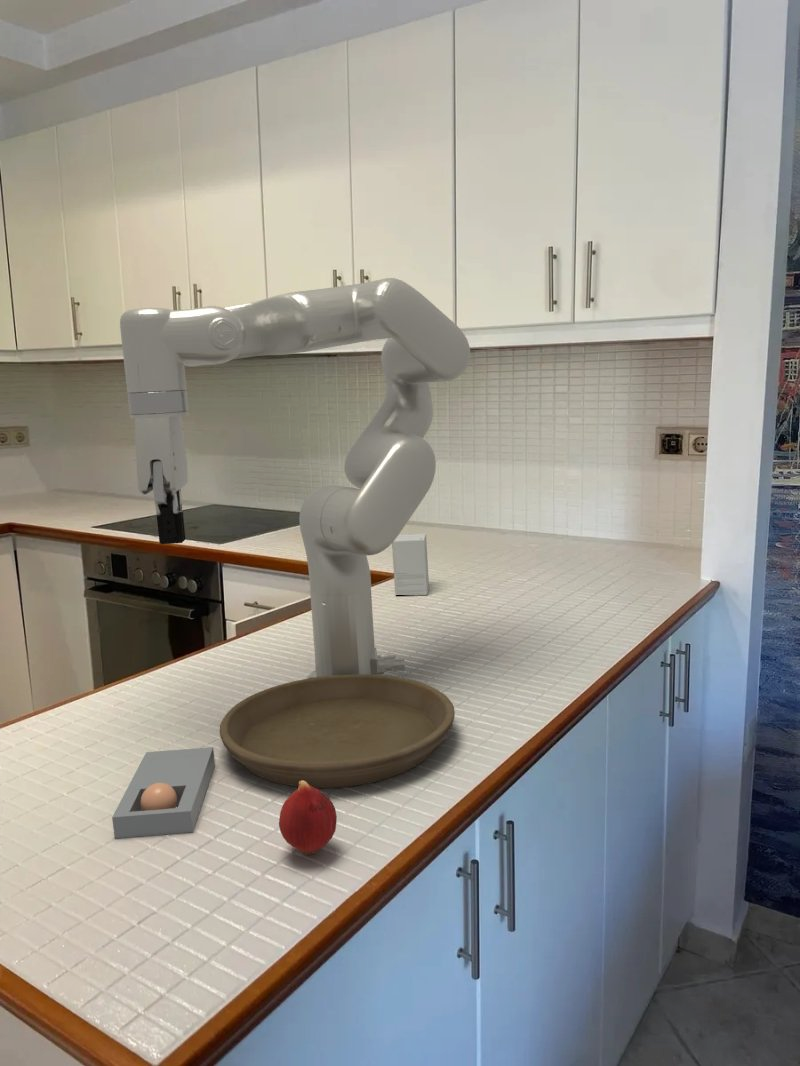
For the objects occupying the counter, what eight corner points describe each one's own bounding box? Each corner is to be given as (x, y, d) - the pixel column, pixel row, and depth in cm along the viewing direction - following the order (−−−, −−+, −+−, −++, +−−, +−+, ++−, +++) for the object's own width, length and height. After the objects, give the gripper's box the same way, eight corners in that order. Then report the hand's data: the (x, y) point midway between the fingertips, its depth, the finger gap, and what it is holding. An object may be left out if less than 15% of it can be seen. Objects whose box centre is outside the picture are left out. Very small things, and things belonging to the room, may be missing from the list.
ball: (175, 775, 94) (171, 810, 91) (181, 790, 97) (178, 824, 94) (139, 778, 94) (134, 812, 91) (146, 792, 97) (142, 826, 94)
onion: (339, 836, 89) (334, 766, 87) (337, 867, 83) (332, 793, 81) (285, 839, 88) (279, 769, 87) (279, 871, 83) (272, 796, 81)
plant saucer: (336, 684, 133) (334, 657, 132) (500, 728, 114) (499, 697, 113) (173, 758, 110) (170, 725, 109) (345, 829, 90) (342, 790, 89)
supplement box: (429, 587, 190) (427, 533, 188) (427, 595, 183) (425, 539, 180) (397, 588, 191) (394, 534, 189) (394, 596, 184) (391, 540, 181)
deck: (215, 765, 106) (213, 747, 106) (193, 832, 91) (190, 811, 90) (148, 770, 106) (146, 752, 106) (114, 838, 90) (112, 817, 90)
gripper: (143, 405, 117) (156, 534, 120) (114, 409, 102) (131, 555, 105) (197, 402, 117) (209, 530, 121) (176, 406, 102) (190, 552, 106)
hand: (172, 542), depth 113 cm, fingers closed
